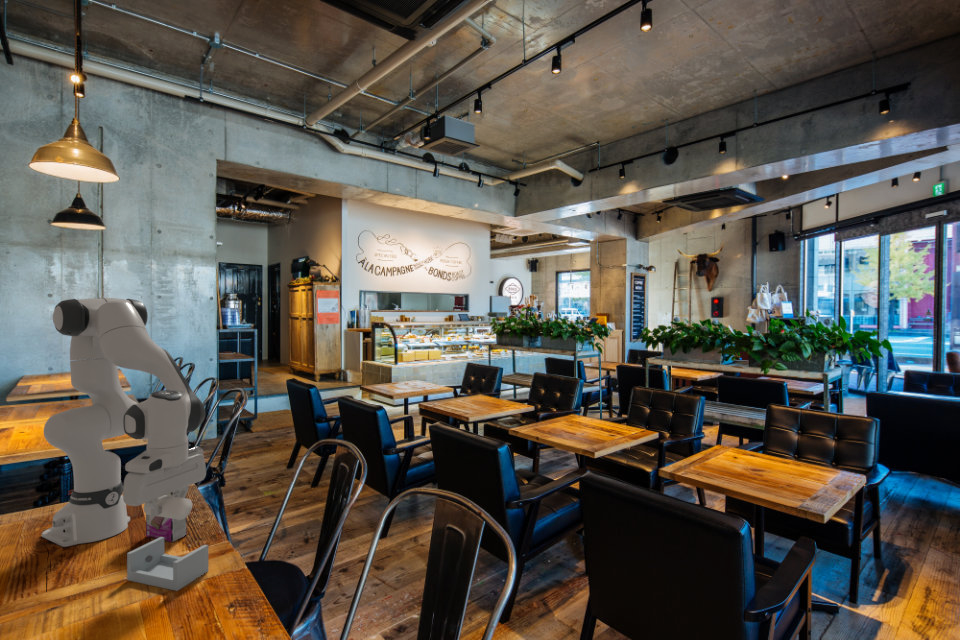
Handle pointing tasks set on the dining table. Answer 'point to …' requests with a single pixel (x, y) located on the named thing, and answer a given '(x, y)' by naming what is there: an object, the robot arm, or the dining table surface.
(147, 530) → the candy bar box
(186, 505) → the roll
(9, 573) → the dining table surface
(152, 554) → the holder
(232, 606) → the dining table surface
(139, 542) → the dining table surface
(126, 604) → the dining table surface
